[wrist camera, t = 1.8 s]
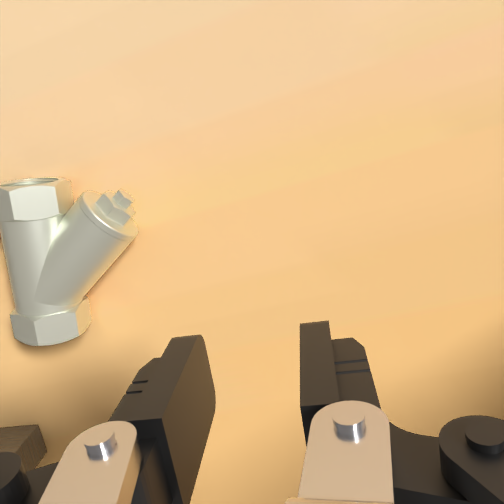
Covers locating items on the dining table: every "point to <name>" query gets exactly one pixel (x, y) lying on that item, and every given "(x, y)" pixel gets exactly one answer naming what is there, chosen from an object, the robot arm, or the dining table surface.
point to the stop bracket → (24, 444)
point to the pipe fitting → (59, 253)
